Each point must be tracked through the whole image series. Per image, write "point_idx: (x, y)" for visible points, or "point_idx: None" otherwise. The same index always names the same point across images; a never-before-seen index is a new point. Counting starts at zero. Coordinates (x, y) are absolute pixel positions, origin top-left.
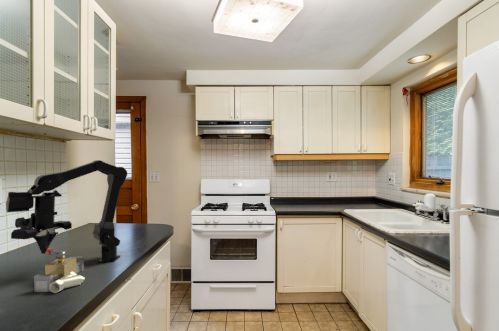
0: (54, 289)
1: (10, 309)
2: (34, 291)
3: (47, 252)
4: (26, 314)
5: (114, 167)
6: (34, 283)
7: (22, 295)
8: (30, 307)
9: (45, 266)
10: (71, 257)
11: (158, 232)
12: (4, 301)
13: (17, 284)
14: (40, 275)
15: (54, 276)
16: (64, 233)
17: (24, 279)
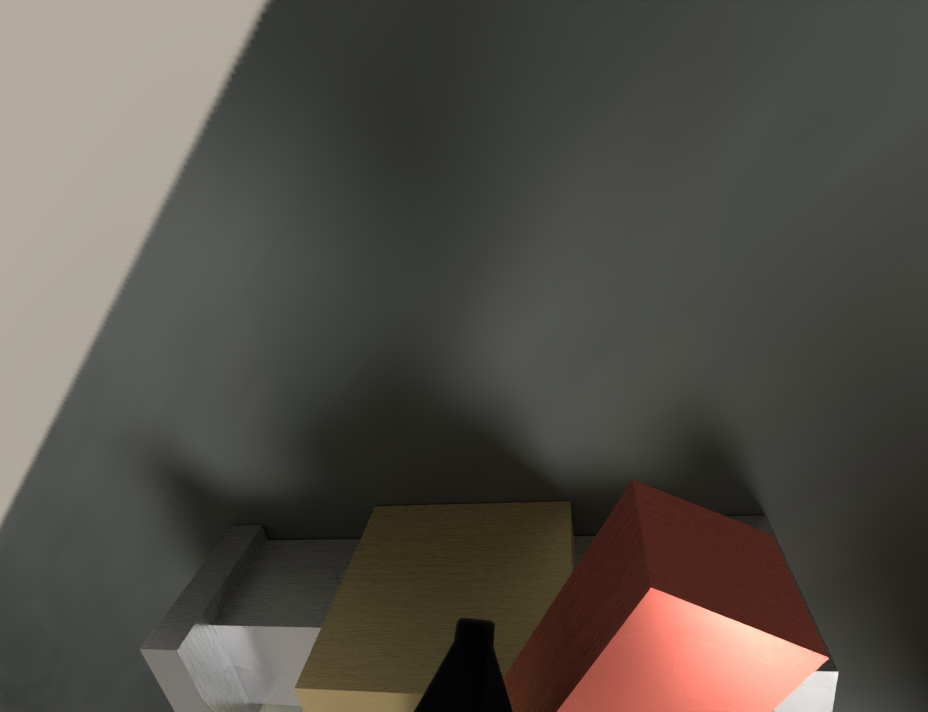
0: None
1: (21, 553)
2: (229, 529)
3: (512, 706)
4: (42, 663)
5: None
6: (189, 586)
7: (161, 480)
8: (90, 638)
9: (302, 675)
10: (791, 696)
11: None
12: (49, 427)
13: (299, 220)
14: (176, 688)
15: (300, 704)
16: None
17: (435, 165)
